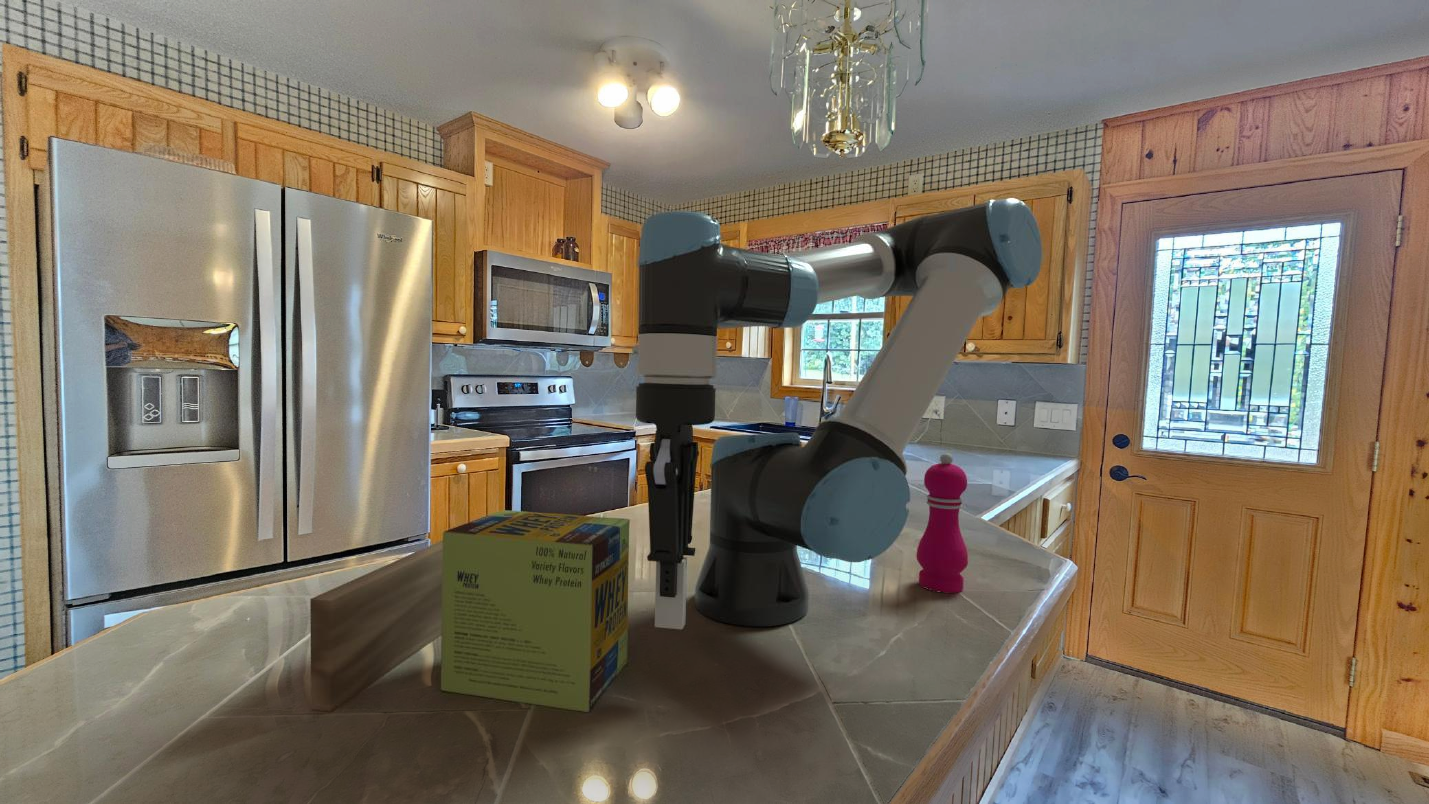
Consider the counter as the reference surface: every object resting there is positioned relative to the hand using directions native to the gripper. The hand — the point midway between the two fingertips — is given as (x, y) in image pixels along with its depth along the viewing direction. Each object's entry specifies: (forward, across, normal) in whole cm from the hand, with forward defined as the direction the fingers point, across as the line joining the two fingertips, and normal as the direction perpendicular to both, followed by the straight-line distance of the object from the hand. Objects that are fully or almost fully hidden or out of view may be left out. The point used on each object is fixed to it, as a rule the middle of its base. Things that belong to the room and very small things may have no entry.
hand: (670, 624), depth 60 cm
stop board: (+7, 0, -29) cm, 30 cm away
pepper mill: (+7, -38, +33) cm, 51 cm away
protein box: (+7, 0, -13) cm, 15 cm away
